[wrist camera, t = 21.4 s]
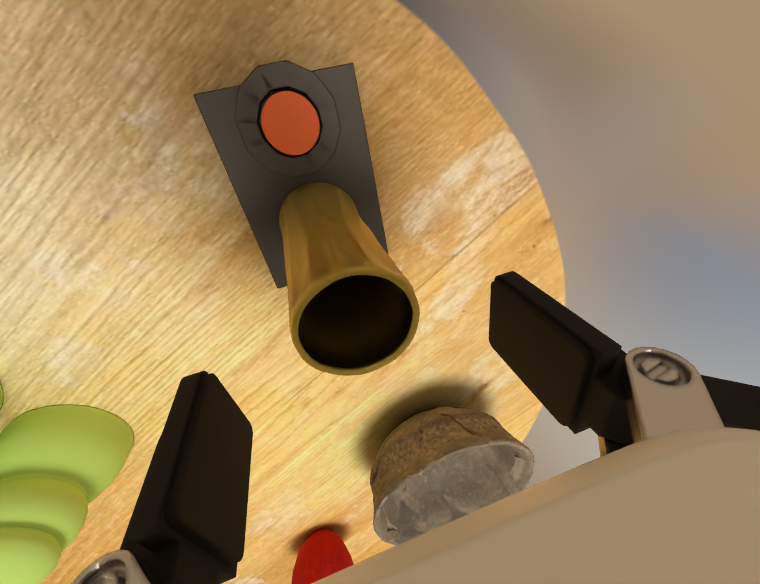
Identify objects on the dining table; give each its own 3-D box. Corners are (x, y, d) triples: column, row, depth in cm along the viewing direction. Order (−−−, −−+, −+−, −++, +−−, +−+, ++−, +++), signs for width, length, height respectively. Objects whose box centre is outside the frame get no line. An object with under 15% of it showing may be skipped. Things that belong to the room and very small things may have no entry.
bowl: (394, 365, 36) (428, 441, 27) (514, 383, 44) (567, 444, 36) (334, 474, 43) (346, 560, 35) (446, 471, 52) (478, 539, 44)
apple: (276, 545, 48) (275, 644, 39) (322, 513, 47) (331, 607, 38) (318, 554, 54) (325, 643, 45) (359, 525, 53) (376, 610, 44)
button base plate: (192, 85, 19) (179, 80, 16) (347, 55, 20) (357, 46, 18) (277, 282, 27) (277, 299, 24) (384, 250, 28) (395, 264, 25)
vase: (351, 260, 26) (411, 380, 14) (277, 255, 24) (274, 390, 12) (363, 188, 23) (448, 261, 12) (280, 175, 21) (280, 249, 10)
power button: (254, 99, 18) (251, 97, 16) (307, 88, 18) (310, 85, 16) (274, 157, 19) (273, 160, 18) (322, 145, 20) (326, 148, 18)
